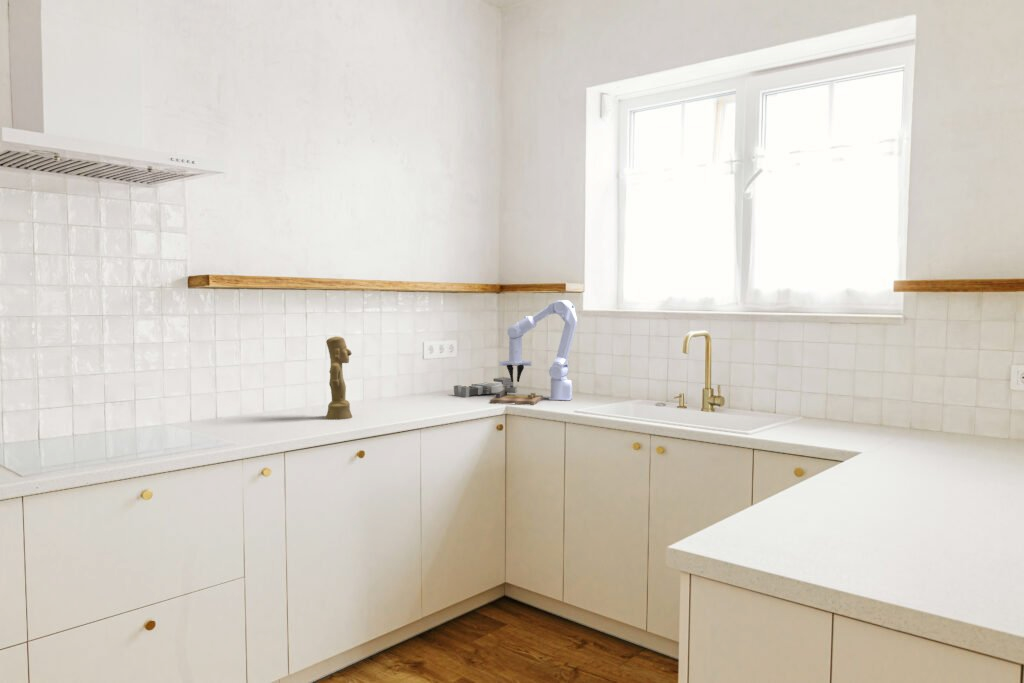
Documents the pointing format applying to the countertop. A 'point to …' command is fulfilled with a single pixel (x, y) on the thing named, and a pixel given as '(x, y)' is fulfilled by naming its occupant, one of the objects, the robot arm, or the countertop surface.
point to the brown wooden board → (502, 398)
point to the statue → (338, 379)
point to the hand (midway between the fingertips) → (515, 381)
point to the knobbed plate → (511, 389)
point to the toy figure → (483, 387)
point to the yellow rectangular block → (516, 396)
